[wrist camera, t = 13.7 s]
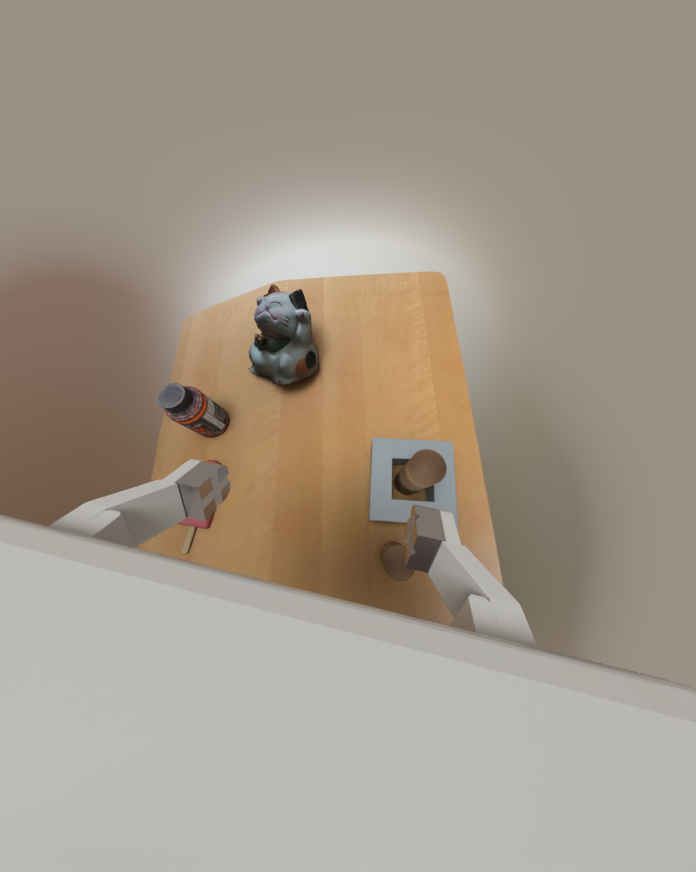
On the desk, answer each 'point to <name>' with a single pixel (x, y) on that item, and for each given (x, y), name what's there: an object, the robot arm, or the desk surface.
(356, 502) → the desk surface
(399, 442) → the socket block
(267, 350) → the lucky cat figurine
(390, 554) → the short pin
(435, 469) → the long pin
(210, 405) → the supplement bottle
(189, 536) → the popsicle
